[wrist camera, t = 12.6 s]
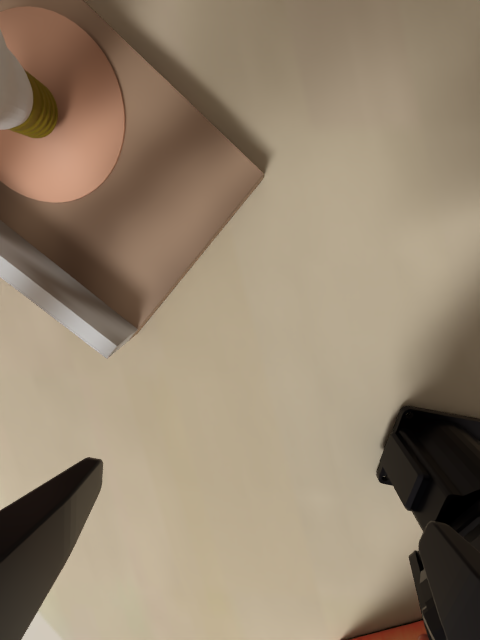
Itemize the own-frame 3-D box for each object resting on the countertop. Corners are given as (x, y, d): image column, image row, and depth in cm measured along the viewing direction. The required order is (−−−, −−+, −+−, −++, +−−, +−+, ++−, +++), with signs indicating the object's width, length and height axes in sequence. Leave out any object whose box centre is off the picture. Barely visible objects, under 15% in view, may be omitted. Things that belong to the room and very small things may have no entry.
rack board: (263, 178, 18) (265, 160, 14) (137, 333, 21) (106, 358, 17) (-70, -140, 15) (-206, -295, 10) (-159, 97, 18) (-291, 54, 14)
